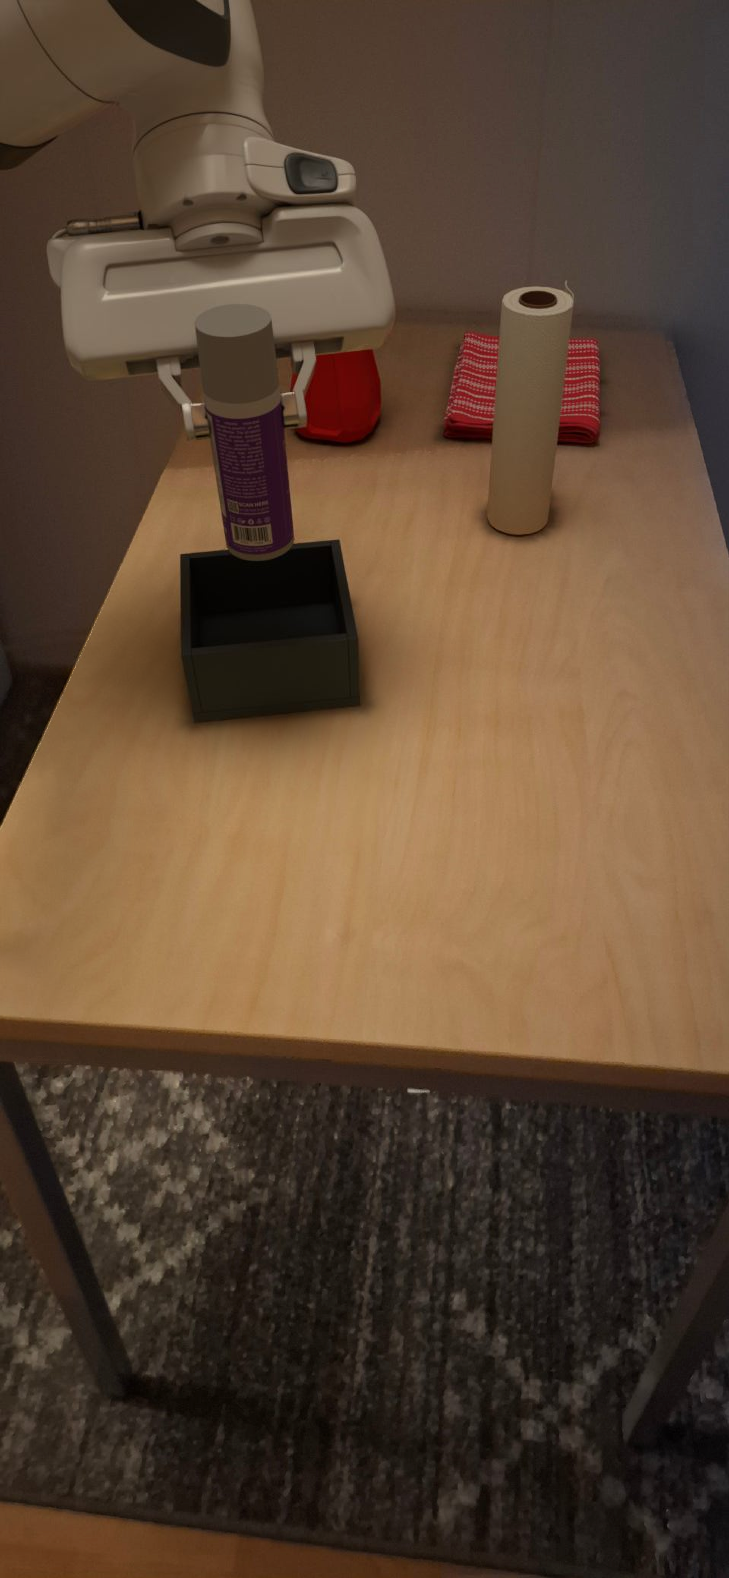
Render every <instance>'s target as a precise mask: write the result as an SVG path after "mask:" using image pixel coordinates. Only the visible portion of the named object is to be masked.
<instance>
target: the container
mask: <svg viewBox="0 0 729 1578" xmlns="http://www.w3.org/2000/svg"><path fill="white" fill-rule="evenodd" d="M195 330H196V338H197V346H198V354H199V362H200V369H199V370H200V377H201V385H202V386H201V387H202V394H203V401H204V402H205V408H206V412H207V420H208V422H209V429H210V438H209V442H210V448H211V455H212V462H213V468H214V474H215V481H216V487H217V493H218V495H217V496H218V501H219V507H220V514H221V521H222V527H223V533H224V540H225V545H226V548H227V550H229V551H230V553H232V554H233V555H234V556H236V557H238V558H241V559H244V560H250V561H262V560H269V559H273V558H276V557H278V556H281V555H282V554H284V553H286V552H287V551H288V550H289V549H290V548H291V547H292V545H293V544H294V543H295V531H294V521H293V519H294V518H293V510H292V500H291V488H290V478H289V476H290V475H289V468H288V467H289V466H288V456H287V455H288V454H287V447H286V445H287V444H286V435H285V429H284V424H283V415H282V413H283V412H282V403H281V394H280V393H281V387H280V379H279V378H280V377H279V371H278V360H276V353H275V344H274V336H273V328H272V320H271V315H270V313H269V312H268V311H267V310H265V309H263V308H261V307H258V306H254V305H248V304H229V305H222V306H218V307H214V308H211V309H209V310H207V311H205V312H203V313H201V314H200V315H199V316H198V317H197V318H196V320H195ZM204 402H203V403H204Z"/></svg>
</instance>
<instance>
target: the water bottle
mask: <svg viewBox="0 0 729 1578" xmlns="http://www.w3.org/2000/svg"><path fill="white" fill-rule="evenodd" d="M298 376H299V374H294V373H293V372H292V375H291V382H290V390H289V392H293V389H294V386H295V384H296V381H297V378H298ZM381 384H382V382H381V377H380V374H379V369H378V366H377V361H376V356H375V353H374V349H368V350H359V351H350V352H341V353H333V354H324V355H316V365H315V371H314V374H313V377H312V379H311V382H310V384H309V387H308V390H307V392H306V395H305V397H304V400H305V406H306V413H307V425H306V427H301V428H294V430H295V431H296V432H297V433H298V434H299V435H300V436H302V437H304V439H310V440H311V439H312V440H321V441H329V442H330V441H331V442H336V443H344V444H351V443H353V442H358V441H362V440H363V439H365V438H366V437H367V436H368V435H369V434H370V433H371V432H372V431H373V430H374V427H375V425H376V424H377V422H378V421H379V418H380V415H381V407H382V385H381Z"/></svg>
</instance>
